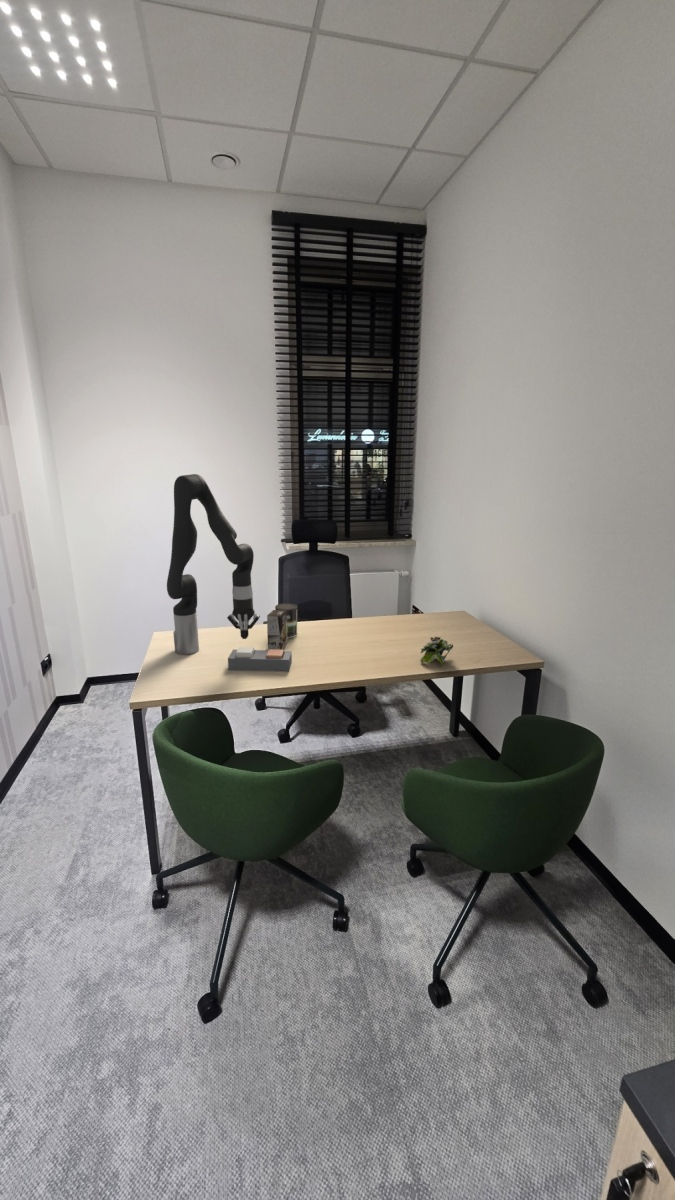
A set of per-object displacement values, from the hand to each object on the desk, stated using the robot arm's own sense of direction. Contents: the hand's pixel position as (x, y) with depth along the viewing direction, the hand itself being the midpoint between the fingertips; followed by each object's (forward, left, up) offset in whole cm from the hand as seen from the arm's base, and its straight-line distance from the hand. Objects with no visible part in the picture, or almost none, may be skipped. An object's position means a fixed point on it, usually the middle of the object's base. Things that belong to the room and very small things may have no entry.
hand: (244, 638), depth 190 cm
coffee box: (+10, +20, -12) cm, 26 cm away
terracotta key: (+12, 0, -9) cm, 15 cm away
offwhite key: (0, 0, -8) cm, 8 cm away
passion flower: (+78, +8, -12) cm, 79 cm away
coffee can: (+12, +36, -12) cm, 40 cm away
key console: (+6, 0, -12) cm, 13 cm away
